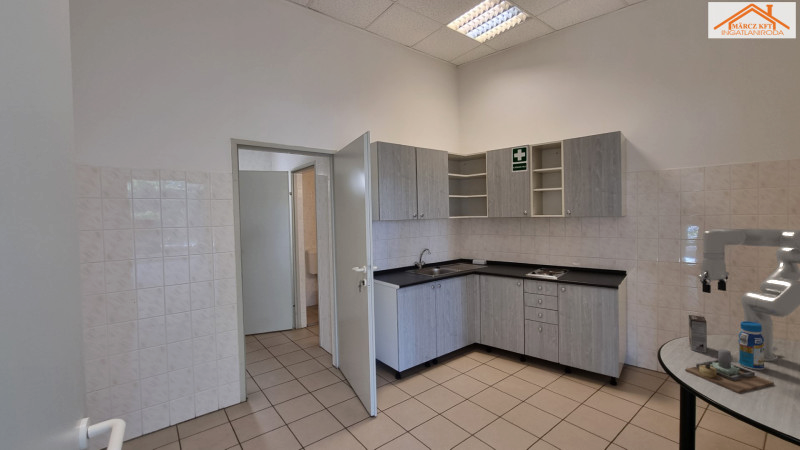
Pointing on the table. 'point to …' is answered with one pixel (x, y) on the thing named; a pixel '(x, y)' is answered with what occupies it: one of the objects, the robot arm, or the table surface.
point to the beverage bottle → (751, 346)
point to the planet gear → (725, 363)
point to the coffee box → (697, 333)
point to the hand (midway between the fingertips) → (714, 291)
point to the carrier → (730, 377)
